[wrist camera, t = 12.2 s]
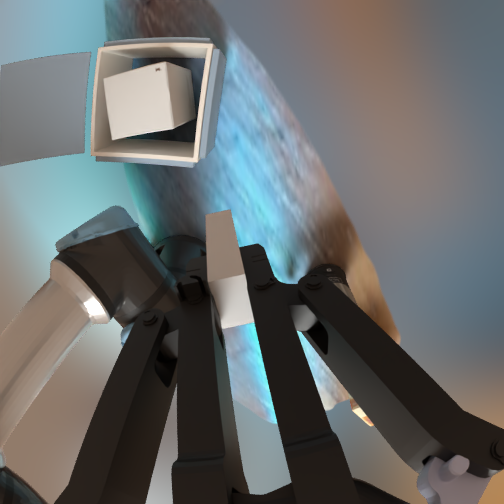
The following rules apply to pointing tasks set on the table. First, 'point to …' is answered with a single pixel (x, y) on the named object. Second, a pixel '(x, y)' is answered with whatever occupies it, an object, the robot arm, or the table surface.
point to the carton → (157, 151)
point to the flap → (43, 107)
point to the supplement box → (149, 99)
